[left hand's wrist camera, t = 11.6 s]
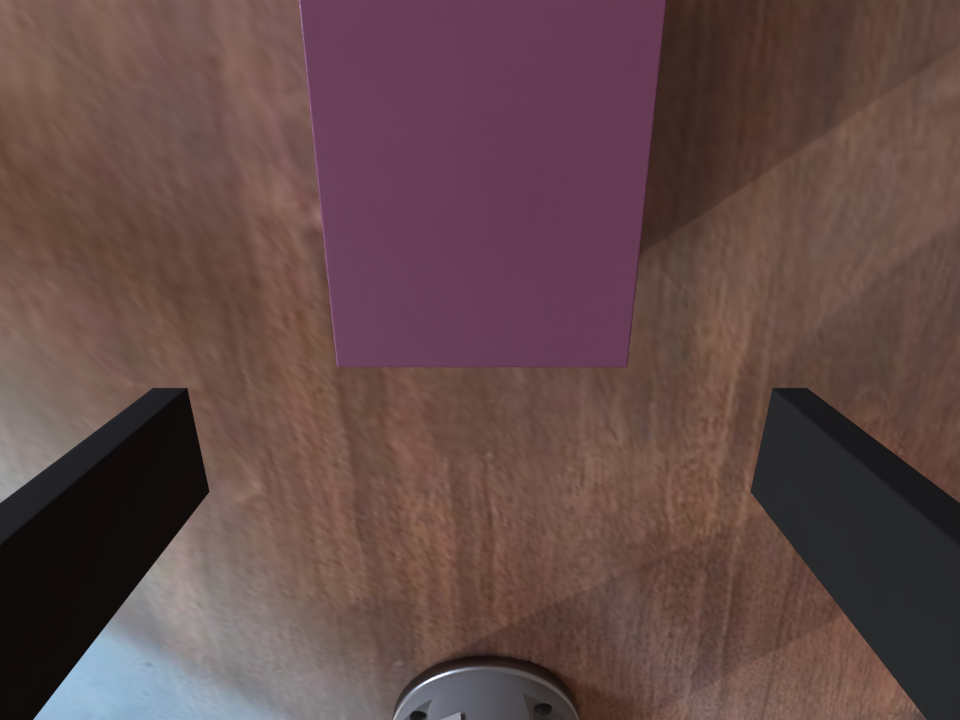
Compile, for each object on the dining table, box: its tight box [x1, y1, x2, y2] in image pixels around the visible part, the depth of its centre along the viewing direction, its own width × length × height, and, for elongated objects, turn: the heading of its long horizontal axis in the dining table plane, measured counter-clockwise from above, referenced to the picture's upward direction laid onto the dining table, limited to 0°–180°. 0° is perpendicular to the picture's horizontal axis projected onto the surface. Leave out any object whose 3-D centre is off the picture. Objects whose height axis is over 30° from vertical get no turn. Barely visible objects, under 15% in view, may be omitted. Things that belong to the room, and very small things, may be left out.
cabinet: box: [299, 0, 667, 367], centre depth 23 cm, size 19×12×11 cm, turn 0°
